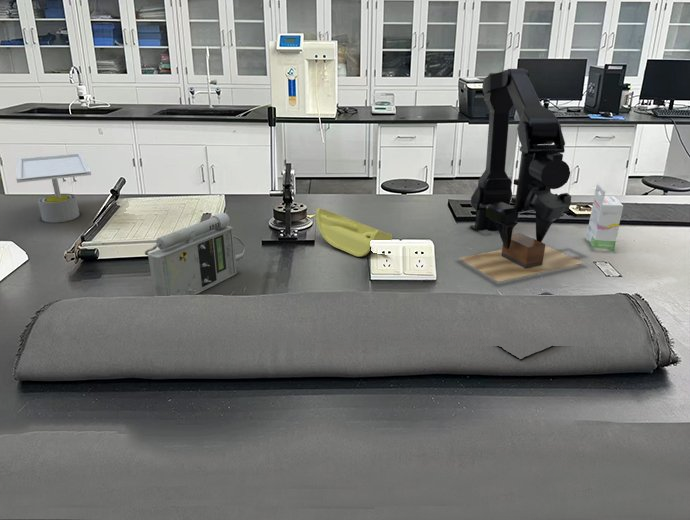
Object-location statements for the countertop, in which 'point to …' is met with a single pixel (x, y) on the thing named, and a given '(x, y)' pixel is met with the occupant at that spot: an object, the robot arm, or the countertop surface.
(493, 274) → the board
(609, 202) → the ink box
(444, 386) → the countertop surface
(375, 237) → the plastic component
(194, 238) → the geiger counter
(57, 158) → the solar panel model
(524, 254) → the brown boxy piece
